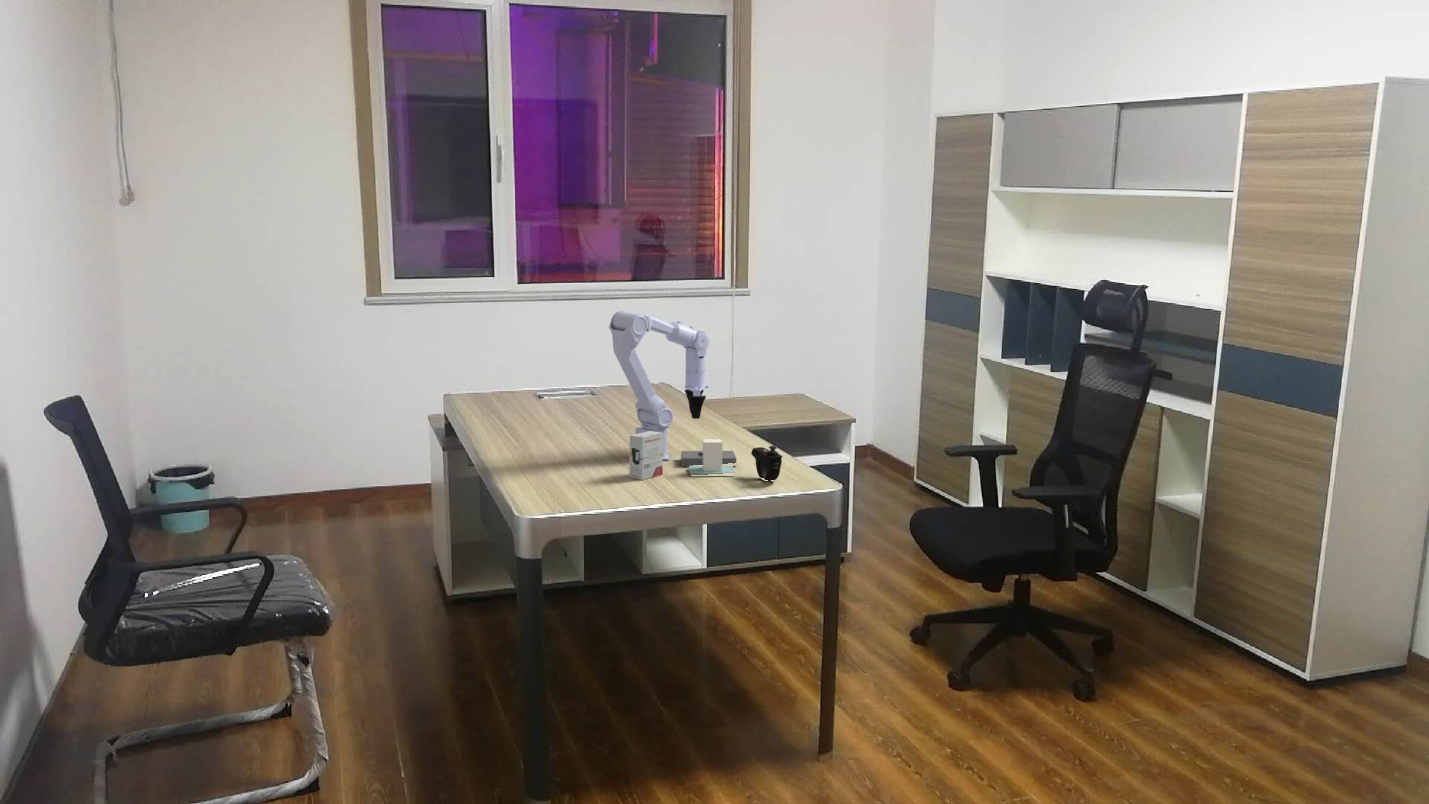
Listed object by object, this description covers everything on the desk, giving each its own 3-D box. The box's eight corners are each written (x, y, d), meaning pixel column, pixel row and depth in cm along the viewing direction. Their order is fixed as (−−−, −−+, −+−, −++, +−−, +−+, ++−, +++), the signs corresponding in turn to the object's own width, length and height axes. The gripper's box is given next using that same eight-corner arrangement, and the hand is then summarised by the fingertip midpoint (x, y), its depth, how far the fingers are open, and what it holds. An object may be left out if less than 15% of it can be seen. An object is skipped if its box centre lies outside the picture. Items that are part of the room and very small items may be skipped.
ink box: (650, 471, 301) (650, 429, 299) (663, 474, 298) (663, 432, 296) (628, 477, 294) (628, 434, 292) (641, 480, 291) (642, 437, 289)
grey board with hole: (682, 467, 306) (682, 458, 306) (681, 459, 315) (681, 450, 315) (736, 466, 308) (736, 458, 307) (732, 459, 316) (733, 450, 316)
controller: (769, 486, 288) (770, 449, 286) (748, 475, 299) (749, 439, 297) (783, 485, 289) (784, 448, 287) (762, 474, 300) (763, 438, 299)
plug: (703, 471, 298) (704, 442, 297) (702, 467, 302) (702, 439, 301) (722, 471, 299) (722, 442, 297) (720, 467, 303) (721, 439, 301)
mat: (690, 476, 296) (690, 473, 296) (688, 469, 304) (688, 465, 304) (734, 476, 297) (734, 472, 297) (731, 469, 305) (731, 465, 305)
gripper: (710, 374, 316) (710, 420, 318) (706, 366, 330) (706, 410, 332) (686, 374, 315) (686, 421, 318) (683, 366, 329) (683, 410, 332)
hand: (694, 415), depth 325 cm, fingers open, 7 cm apart
